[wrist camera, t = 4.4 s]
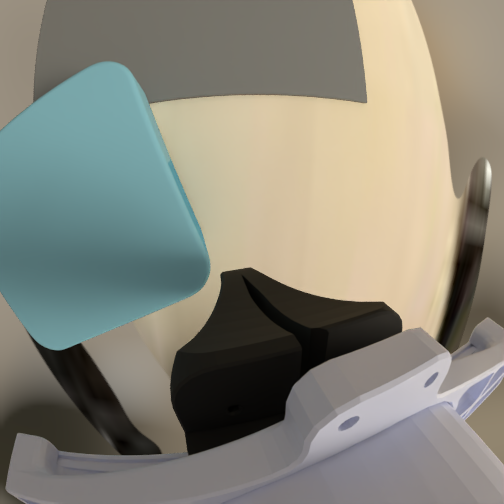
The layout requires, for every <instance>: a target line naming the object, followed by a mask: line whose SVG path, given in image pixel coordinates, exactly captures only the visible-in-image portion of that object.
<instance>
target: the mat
mask: <svg viewBox="0 0 504 504" xmlns="http://www.w3.org/2000/svg"><path fill="white" fill-rule="evenodd" d="M105 61H112V62H117V63H120V64H122V65H124V66H125V67H126V68H128V69H129V70H130V71H131V73H132V74H133V76H134V77H135V79H136V80H137V82H138V83H139V85H140V86H141V88H142V89H143V91H144V93H145V95H146V98H147V100H148V103H155V102H162V101H170V100H177V99H186V98H197V97H209V96H225V95H291V96H307V97H320V98H330V99H339V100H347V101H354V102H361V103H367V94H366V83H365V73H364V65H363V57H362V50H361V43H360V37H359V31H358V25H357V20H356V15H355V10H354V5H353V1H352V0H47V2H46V6H45V10H44V15H43V19H42V24H41V30H40V36H39V41H38V49H37V57H36V65H35V78H34V102H35V101H36V100H38V99H39V98H40V97H42V96H43V95H45V94H46V93H47V92H49V91H50V90H52V89H53V88H55V87H56V86H58V85H59V84H61V83H62V82H64V81H65V80H67V79H68V78H70V77H72V76H73V75H75V74H77V73H78V72H80V71H82V70H83V69H85V68H87V67H89V66H91V65H93V64H96V63H99V62H105ZM34 102H33V103H34Z"/></svg>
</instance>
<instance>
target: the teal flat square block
mask: <svg viewBox="0 0 504 504" xmlns="http://www.w3.org/2000/svg"><path fill="white" fill-rule="evenodd" d="M209 274H210V259H209V255H208V252H207V248H206V245H205V241H204V238H203V234H202V231H201V228H200V226H199V224H198V221H197V219H196V217H195V215H194V212H193V210H192V208H191V205H190V203H189V201H188V198H187V196H186V194H185V192H184V189H183V187H182V184H181V182H180V180H179V177H178V175H177V173H176V170H175V168H174V165H173V163H172V161H171V158H170V156H169V153H168V151H167V148H166V146H165V143H164V141H163V139H162V136H161V134H160V131H159V128H158V126H157V123H156V121H155V118H154V116H153V113H152V111H151V108H150V105H149V103H148V100H147V98H146V95H145V93H144V91H143V89H142V88H141V86H140V85H139V83H138V82H137V80H136V79H135V77H134V76H133V74H132V73H131V71H130V70H129V69H128V68H126V67H125V66H124V65H122V64H120V63H117V62H112V61H105V62H99V63H96V64H93V65H91V66H89V67H87V68H85V69H83V70H82V71H80V72H78V73H77V74H75V75H73V76H72V77H70V78H68V79H67V80H65V81H64V82H62V83H61V84H59V85H58V86H56V87H55V88H53V89H52V90H50V91H49V92H47V93H46V94H45V95H43V96H42V97H40V98H39V99H38V100H36V101H35V102H34V103H32V104H31V105H30V106H29V107H27V108H26V109H25V110H24V111H23V112H21V113H20V114H19V115H17V116H16V117H15V118H14V119H13V120H12V121H11V122H9V123H8V124H7V125H6V126H5V127H4V128H3V129H2V130H1V131H0V292H1V293H2V295H3V297H4V298H5V300H6V301H7V303H8V304H9V306H10V307H11V309H12V310H13V311H14V312H15V314H16V316H17V317H18V319H19V320H20V321H21V323H22V324H23V325H24V327H25V328H26V329H27V331H28V332H29V333H30V334H31V336H32V337H33V338H34V339H35V340H36V341H37V342H38V343H39V344H41V345H42V346H44V347H46V348H49V349H52V350H63V349H66V348H68V347H71V346H73V345H76V344H78V343H81V342H83V341H86V340H88V339H90V338H93V337H95V336H98V335H100V334H102V333H105V332H107V331H110V330H112V329H115V328H117V327H119V326H122V325H124V324H127V323H129V322H131V321H134V320H136V319H139V318H141V317H143V316H146V315H148V314H150V313H153V312H155V311H158V310H160V309H162V308H165V307H167V306H169V305H172V304H174V303H176V302H179V301H181V300H183V299H186V298H188V297H190V296H192V295H194V294H196V293H197V292H198V291H199V290H201V288H202V287H203V286H204V285H205V283H206V282H207V280H208V277H209Z"/></svg>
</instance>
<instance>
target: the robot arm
mask: <svg viewBox="0 0 504 504" xmlns="http://www.w3.org/2000/svg"><path fill="white" fill-rule="evenodd" d="M220 276H221V289H220V294H219V297H218V300H217V303H216V305H215V308H214V310H213V312H212V314H211V316H210V318H209V319H208V321H207V322H206V324H205V325H204V327H203V328H202V329H201V331H200V332H199V333H198V334H197V335H196V336H195V337H194V338H193V339H192V340H191V341H190V342H188V343H187V344H186V345H185V346H183V347H182V348H181V349H179V350H178V351H177V353H176V356H175V360H174V364H173V369H172V374H171V384H170V386H171V387H170V389H171V402H172V405H173V409H174V411H175V413H176V416H177V418H178V420H179V422H180V424H181V426H182V428H183V430H184V432H185V437H186V444H187V451H188V452H183V453H173V454H160V455H136V456H115V455H93V454H80V453H69V452H62V451H58V450H57V449H56V448H55V446H54V445H53V444H51V443H50V442H49V441H48V440H46V439H44V438H42V437H38V436H32V435H27V434H22V433H18V434H17V437H16V441H15V445H14V449H13V453H12V457H11V462H10V467H9V472H8V477H7V483H6V490H7V492H9V493H10V494H12V495H13V496H15V497H16V498H18V499H19V500H21V501H23V502H24V503H26V504H504V465H503V464H502V462H501V461H500V460H499V459H498V458H497V457H496V456H495V454H494V453H493V452H492V451H491V450H490V449H489V447H488V446H487V445H486V444H485V443H484V442H483V441H482V440H481V438H480V437H479V436H478V435H477V434H476V433H475V432H474V431H473V430H472V428H471V427H470V426H469V425H468V424H467V423H466V422H465V419H467V417H469V416H470V414H472V413H473V411H475V410H476V409H477V407H478V406H479V405H480V404H481V403H482V402H483V401H484V400H485V399H486V398H487V397H488V396H489V395H490V394H491V392H492V391H493V390H494V389H495V388H496V387H497V386H498V385H499V383H500V382H501V380H502V379H503V377H504V329H503V328H502V327H501V326H499V325H497V324H496V323H495V322H494V321H493V320H491V319H490V318H486V319H485V320H483V321H482V322H481V323H479V324H478V325H477V326H476V327H475V328H474V330H473V332H472V334H471V337H470V339H469V342H468V343H466V344H465V345H464V346H462V347H461V348H460V349H458V350H457V351H455V352H454V353H452V354H451V355H450V353H449V352H448V351H447V350H446V349H445V348H444V347H443V346H442V345H440V344H439V343H438V342H437V341H436V340H435V339H434V338H432V337H431V336H430V335H429V334H428V333H427V332H425V331H424V330H423V329H422V328H415V329H409V330H405V331H403V332H402V320H401V318H400V316H399V315H398V314H397V313H396V312H395V311H394V310H392V309H391V308H390V307H389V306H388V305H386V304H385V303H384V302H354V301H343V300H335V299H330V298H325V297H320V296H316V295H312V294H308V293H305V292H302V291H299V290H296V289H294V288H291V287H289V286H286V285H284V284H282V283H280V282H278V281H276V280H274V279H272V278H270V277H268V276H266V275H264V274H262V273H260V272H259V271H257V270H255V269H253V268H244V269H238V270H232V271H226V272H222V274H221V275H220Z"/></svg>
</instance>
